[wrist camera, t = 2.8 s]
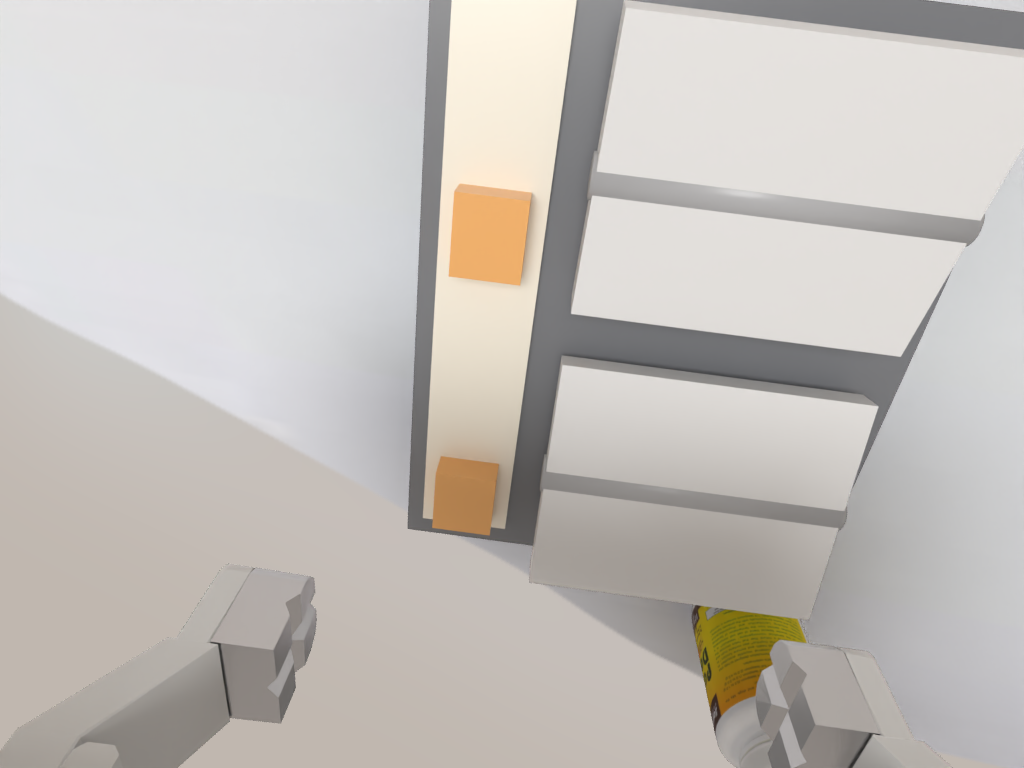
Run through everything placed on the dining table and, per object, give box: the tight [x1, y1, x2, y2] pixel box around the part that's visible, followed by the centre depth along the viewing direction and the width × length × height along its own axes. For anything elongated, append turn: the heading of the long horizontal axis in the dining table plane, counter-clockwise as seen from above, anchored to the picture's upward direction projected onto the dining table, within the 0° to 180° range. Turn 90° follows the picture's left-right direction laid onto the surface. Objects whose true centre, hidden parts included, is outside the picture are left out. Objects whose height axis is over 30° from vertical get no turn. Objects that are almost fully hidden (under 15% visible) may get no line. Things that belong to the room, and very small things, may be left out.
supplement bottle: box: [692, 605, 809, 768], centre depth 32 cm, size 6×6×10 cm
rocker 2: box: [529, 355, 879, 620], centre depth 25 cm, size 11×9×1 cm
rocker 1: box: [571, 0, 1024, 357], centre depth 19 cm, size 11×9×1 cm
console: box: [408, 0, 1024, 546], centre depth 25 cm, size 18×22×6 cm
